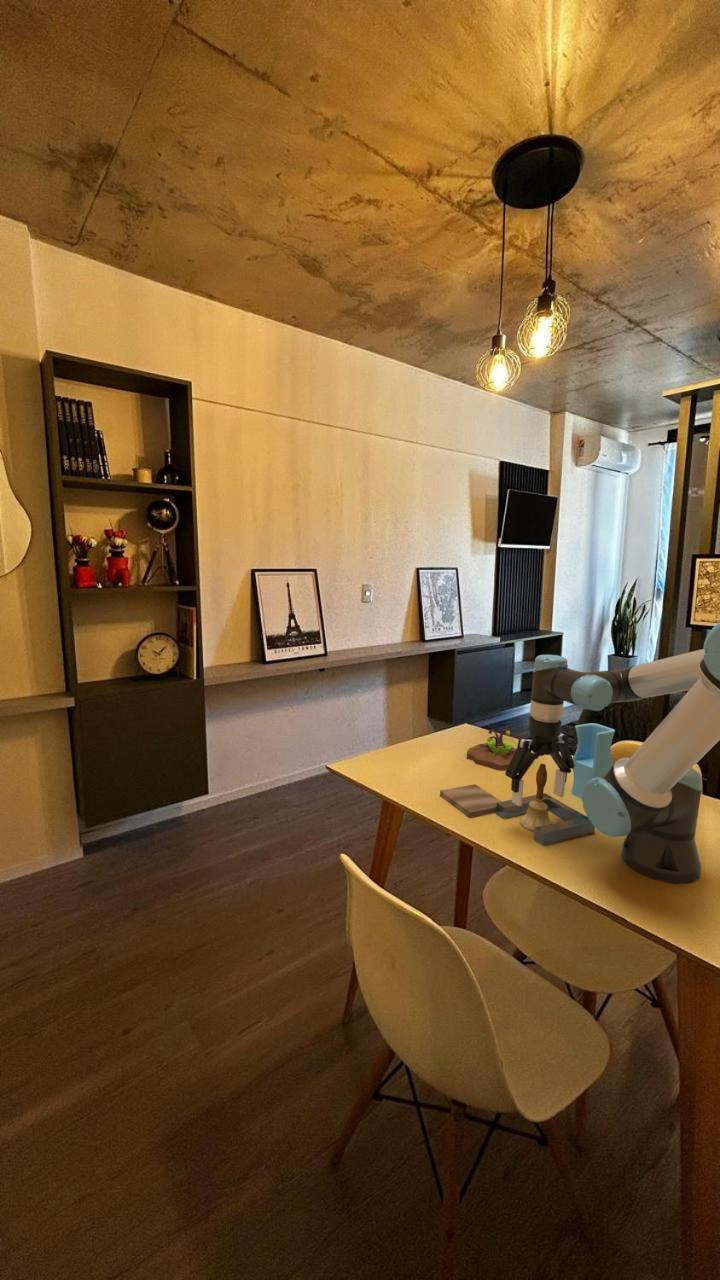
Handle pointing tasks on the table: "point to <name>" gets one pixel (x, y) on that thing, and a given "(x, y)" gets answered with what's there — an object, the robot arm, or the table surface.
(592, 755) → the light blue holder
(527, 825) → the hand bell
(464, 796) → the walnut board
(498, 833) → the table surface
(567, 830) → the silver c-shaped bracket
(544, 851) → the table surface
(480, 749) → the plant
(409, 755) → the table surface
